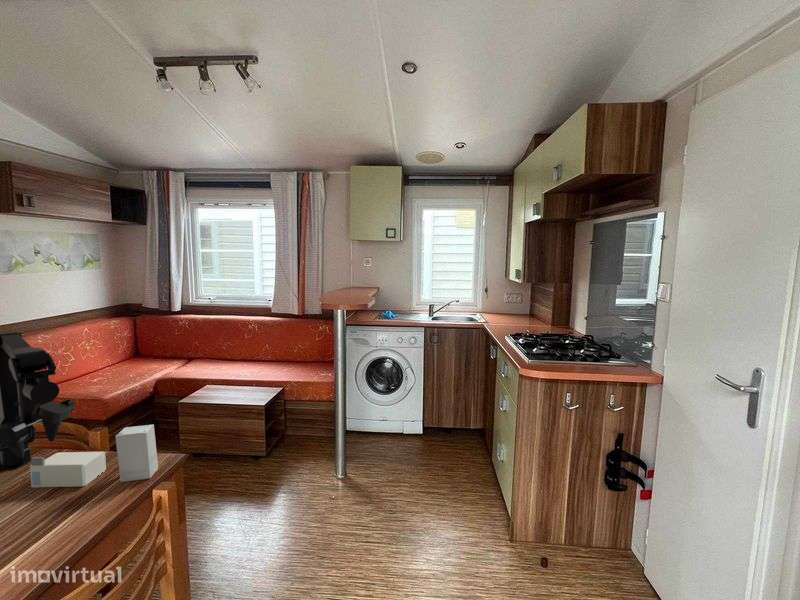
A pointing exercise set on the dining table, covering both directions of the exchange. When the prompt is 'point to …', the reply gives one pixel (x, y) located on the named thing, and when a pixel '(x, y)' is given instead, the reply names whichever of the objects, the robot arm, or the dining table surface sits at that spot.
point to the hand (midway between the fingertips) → (37, 448)
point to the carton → (82, 462)
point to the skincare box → (136, 453)
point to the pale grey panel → (55, 474)
